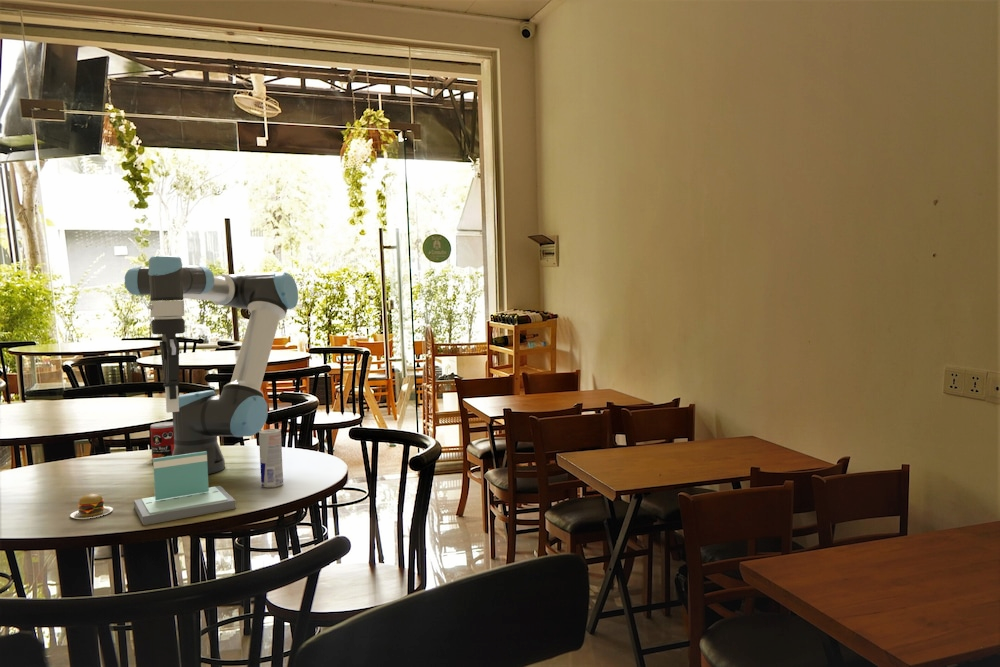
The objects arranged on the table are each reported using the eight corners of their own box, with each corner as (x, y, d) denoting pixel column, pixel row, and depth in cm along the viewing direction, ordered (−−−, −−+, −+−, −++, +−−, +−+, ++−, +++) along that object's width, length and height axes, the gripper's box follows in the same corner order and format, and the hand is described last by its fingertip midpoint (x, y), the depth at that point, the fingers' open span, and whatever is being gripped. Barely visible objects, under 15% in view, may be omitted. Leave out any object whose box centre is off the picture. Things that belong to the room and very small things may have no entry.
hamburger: (115, 505, 177) (114, 484, 177) (124, 517, 167) (123, 494, 167) (59, 515, 170) (58, 493, 169) (65, 528, 160) (64, 504, 160)
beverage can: (286, 482, 192) (284, 428, 191) (278, 488, 187) (275, 432, 186) (266, 482, 193) (264, 428, 192) (257, 488, 187) (255, 432, 186)
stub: (155, 499, 170) (152, 458, 169) (208, 490, 177) (206, 451, 176) (155, 500, 169) (153, 459, 169) (208, 491, 176) (206, 451, 175)
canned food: (146, 461, 222) (144, 426, 222) (162, 455, 230) (161, 421, 229) (168, 461, 221) (167, 426, 220) (184, 455, 229) (182, 421, 228)
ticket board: (134, 508, 172) (133, 498, 172) (220, 493, 183) (220, 484, 183) (143, 525, 159) (142, 514, 159) (235, 508, 170) (235, 498, 170)
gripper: (147, 318, 180) (152, 410, 181) (155, 319, 169) (160, 416, 171) (179, 317, 184) (184, 406, 186) (189, 317, 173) (193, 413, 175)
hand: (172, 411), depth 178 cm, fingers closed
